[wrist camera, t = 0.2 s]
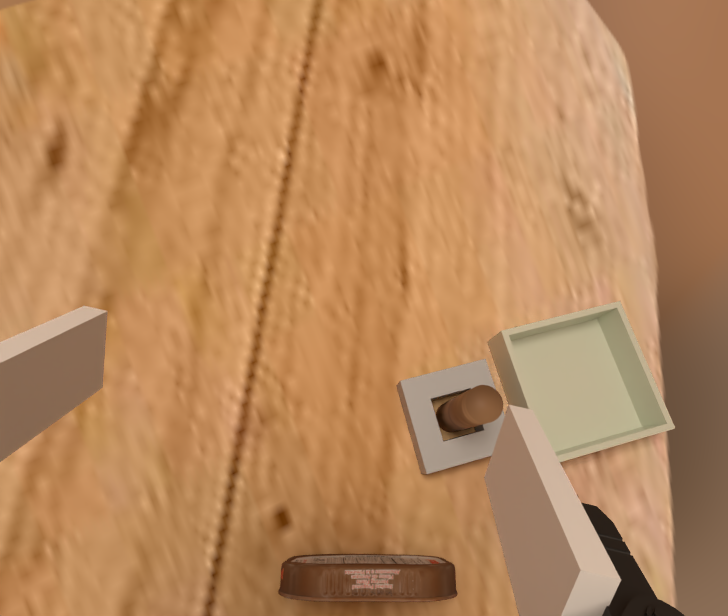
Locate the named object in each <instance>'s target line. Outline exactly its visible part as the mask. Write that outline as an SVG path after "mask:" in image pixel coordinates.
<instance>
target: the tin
mask: <svg viewBox="0 0 728 616" xmlns="http://www.w3.org/2000/svg"><path fill="white" fill-rule="evenodd" d="M279 594H280V595H281V596H284V597H287V598H290V599H296V600H305V601H326V602H346V601H347V602H430V601H440V600H447V599H451V598H454V597H456V596H457V591H456V580H455V567H454V565H453V564H452V563H450V562H448V561H446V560H445V559H443V558H439V557H432V556H420V555H381V554H320V555H303V556H295V557H292V558H289V559H288V560H287V561H285V562H283V564H282V568H281V584H280V589H279Z"/></svg>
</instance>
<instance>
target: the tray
mask: <svg viewBox="0 0 728 616" xmlns="http://www.w3.org/2000/svg"><path fill="white" fill-rule="evenodd" d="M488 345H489V348H490V351H491V354H492V357H493V360H494V363H495V366H496V368H497V371H498V374H499V377H500V380H501V383H502V386H503V389H504V392H505V395H506V397H507V400H508V403H509V405H513V406H517V407H522V408H526V409H530V410H533V412H534V414H535V416H536V418H537V419H538V421H539V423H540V425H541V427H542V429H543V431H544V433H545V435H546V437H547V439H548V441H549V442H550V444H551V446H552V448H553V450H554V452H555V454H556V456H557V458H558V460H559V462H563V461H566V460H570V459H573V458H576V457H580V456H583V455H587V454H590V453H593V452H597V451H600V450H603V449H607V448H610V447H614V446H617V445H620V444H624V443H627V442H631V441H634V440H637V439H641V438H644V437H647V436H651V435H654V434H658V433H661V432H664V431H668V430H671V429H675V426H674V424H673V422H672V420H671V417H670V415H669V413H668V410H667V408H666V406H665V403H664V401H663V399H662V397H661V394H660V392H659V390H658V387H657V385H656V383H655V380H654V378H653V376H652V373H651V371H650V369H649V367H648V364H647V362H646V360H645V357H644V355H643V353H642V350H641V348H640V346H639V344H638V341H637V339H636V337H635V334H634V332H633V330H632V327H631V325H630V323H629V321H628V318H627V316H626V314H625V311H624V309H623V307H622V304H621V302H620V301H618V302H614V303H610V304H606V305H602V306H598V307H594V308H590V309H586V310H582V311H578V312H574V313H570V314H566V315H562V316H558V317H554V318H550V319H546V320H542V321H538V322H534V323H530V324H526V325H522V326H519V327H515V328H511V329H507V330H503V331H500V332H499V333H498V334H497V335H495V336H494V337H493V338H491V339H490V340H489V341H488Z"/></svg>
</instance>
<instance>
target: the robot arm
mask: <svg viewBox="0 0 728 616" xmlns="http://www.w3.org/2000/svg"><path fill="white" fill-rule="evenodd" d="M106 325H107V311H105V310H100V309H96V308H92V307H88V306H83V307H80V308H78V309H76V310H73V311H71V312H69V313H66V314H64V315H62V316H60V317H57V318H55V319H53V320H50V321H48V322H46V323H43V324H41V325H39V326H36V327H34V328H32V329H30V330H27V331H25V332H23V333H20V334H18V335H16V336H13V337H11V338H9V339H6V340H4V341H2V342H0V462H1V461H2V460H4V459H5V458H7V457H8V456H9V455H11V454H12V453H13V452H15V451H16V450H18V449H19V448H20V447H22V446H23V445H24V444H26V443H27V442H28V441H30V440H31V439H33V438H34V437H35V436H37V435H38V434H39V433H41V432H42V431H44V430H45V429H46V428H48V427H49V426H50V425H52V424H53V423H55V422H56V421H57V420H59V419H60V418H61V417H63V416H64V415H66V414H67V413H68V412H70V411H71V410H72V409H74V408H75V407H76V406H78V405H79V404H81V403H82V402H83V401H85V400H86V399H87V398H89V397H90V396H92V395H93V394H94V393H96V392H97V391H98V390H100V389H101V388H102V387H103V372H104V356H105V341H106ZM484 478H485V482H486V486H487V490H488V494H489V498H490V502H491V506H492V510H493V514H494V518H495V522H496V526H497V530H498V534H499V538H500V542H501V546H502V549H503V553H504V557H505V561H506V565H507V569H508V573H509V577H510V581H511V585H512V589H513V593H514V597H515V601H516V605H517V609H518V613H519V616H684V615H683V614H682V613H681V612H679V611H678V610H677V609H676V608H674V607H672V606H670V605H669V604H667V603H665V602H663V601H661V600H658V599H657V597H656V595H655V594H654V592H653V590H652V588H651V587H650V585H649V583H648V582H647V580H646V578H645V576H644V575H643V573H642V571H641V570H640V568H639V566H638V564H637V563H636V561H635V559H634V558H633V556H631V555H630V551H629V549H628V547H627V546H626V544H625V542H622V537H621V535H620V534H619V532H618V530H617V528H616V527H615V525H614V523H613V522H612V521H611V520H610V519H609V518H608V517H607V516H606V515H605V514H604V513H603V512H602V511H601V510H600V509H599V508H598V507H597V506H593V505H589V504H584V503H581V502H580V500H579V498H578V496H577V494H576V492H575V490H574V488H573V487H572V485H571V483H570V481H569V479H568V477H567V475H566V473H565V471H564V469H563V467H562V465H561V464H560V462H559V460H558V458H557V456H556V454H555V452H554V450H553V448H552V446H551V444H550V442H549V441H548V439H547V437H546V435H545V433H544V431H543V429H542V427H541V425H540V423H539V421H538V419H537V418H536V416H535V414H534V412H533V410H530V409H526V408H522V407H517V406H513V405H508V408H507V411H506V414H505V417H504V420H503V423H502V426H501V429H500V432H499V435H498V438H497V441H496V444H495V447H494V450H493V453H492V456H491V459H490V462H489V465H488V468H487V471H486V474H485V477H484Z"/></svg>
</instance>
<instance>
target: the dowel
mask: <svg viewBox="0 0 728 616" xmlns="http://www.w3.org/2000/svg"><path fill="white" fill-rule="evenodd" d="M502 410H503V401H502V398H501V396H500V394H499V393H498V391H497V390H495V389H494V388H493V387H491V386H488V385H478V386H476V387H474V388H472V389H470V390H468V391H466V392H464V393H463V394H461V395H459V396H457V397H455V398H453V399H451V400H449V401H448V402H446V403H444V404H442V405H441V406H440V407H439V408H438V409H437V412H436V419H437V422H438V425H439V426H440V428H442V429H443V430H445V431H447V432H455V431H459V430H463V429H467V428H471V427H475V426H478V425H482V424H486V423H490V422H493V421H495V420H496V419H498V418H499V416H500V415H501V413H502Z"/></svg>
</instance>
